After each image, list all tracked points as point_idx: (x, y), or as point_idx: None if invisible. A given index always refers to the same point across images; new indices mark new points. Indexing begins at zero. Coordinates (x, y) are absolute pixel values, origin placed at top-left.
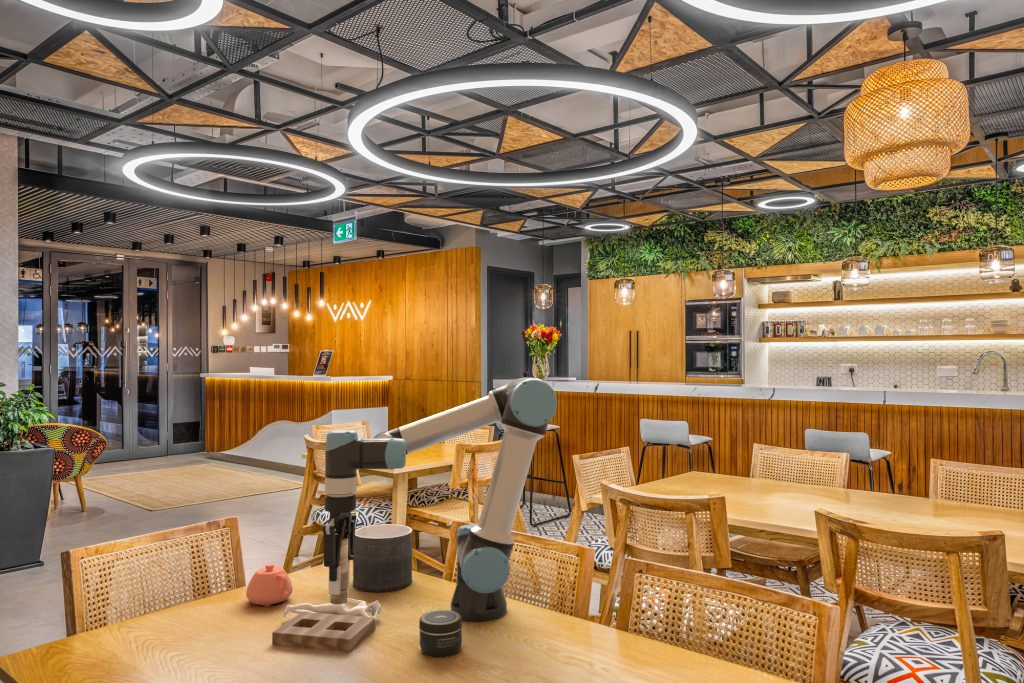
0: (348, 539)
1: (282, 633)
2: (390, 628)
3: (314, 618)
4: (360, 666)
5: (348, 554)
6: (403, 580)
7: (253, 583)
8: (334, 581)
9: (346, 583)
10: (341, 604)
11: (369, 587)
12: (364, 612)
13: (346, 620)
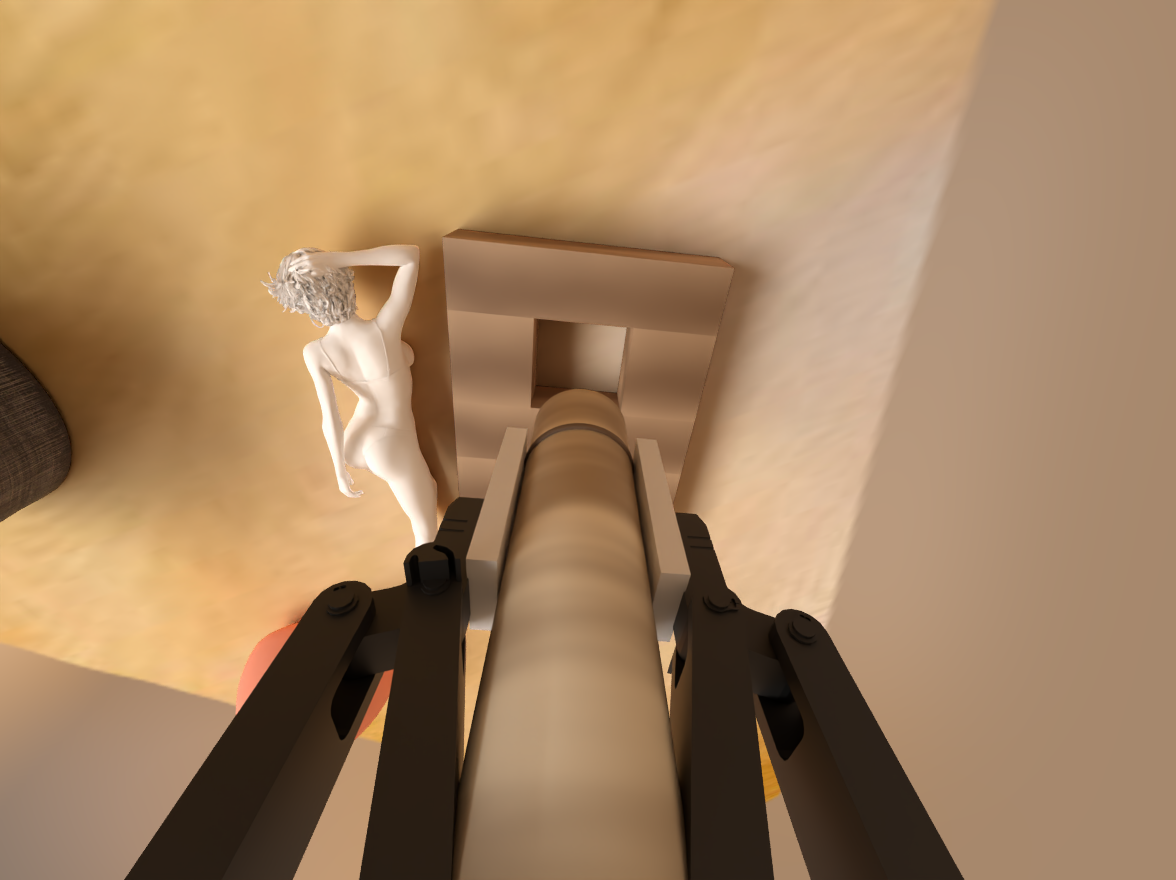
0: (416, 853)
1: None
2: (417, 147)
3: None
4: (871, 150)
5: (459, 624)
6: None
7: (363, 730)
8: (697, 516)
9: (584, 447)
10: (386, 442)
11: (38, 420)
12: (388, 319)
13: (510, 366)
